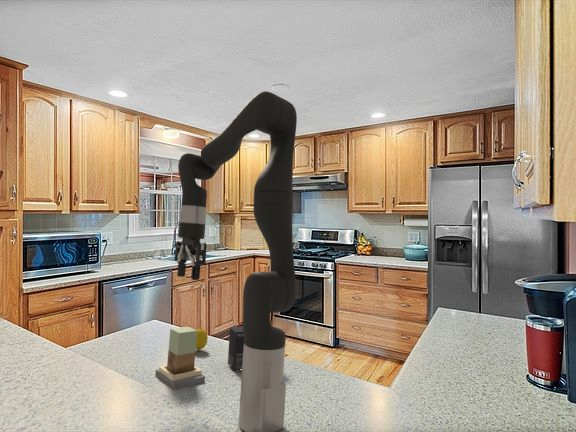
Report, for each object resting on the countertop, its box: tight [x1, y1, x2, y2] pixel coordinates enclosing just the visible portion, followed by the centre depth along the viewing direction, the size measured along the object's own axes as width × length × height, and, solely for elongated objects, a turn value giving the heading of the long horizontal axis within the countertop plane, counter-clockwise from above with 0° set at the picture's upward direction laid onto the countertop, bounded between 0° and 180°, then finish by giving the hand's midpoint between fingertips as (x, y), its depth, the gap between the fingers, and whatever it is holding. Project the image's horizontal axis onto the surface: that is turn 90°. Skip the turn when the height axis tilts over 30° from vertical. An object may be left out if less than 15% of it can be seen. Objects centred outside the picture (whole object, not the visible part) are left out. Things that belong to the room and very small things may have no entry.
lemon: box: [196, 327, 208, 351], centre depth 125 cm, size 6×6×8 cm
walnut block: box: [166, 349, 196, 375], centre depth 100 cm, size 6×6×6 cm
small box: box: [227, 326, 244, 372], centre depth 113 cm, size 13×7×12 cm, turn 115°
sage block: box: [168, 326, 197, 356], centre depth 100 cm, size 6×6×6 cm
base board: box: [155, 364, 206, 390], centre depth 100 cm, size 12×9×3 cm
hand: (187, 278), depth 102 cm, fingers open, 8 cm apart
